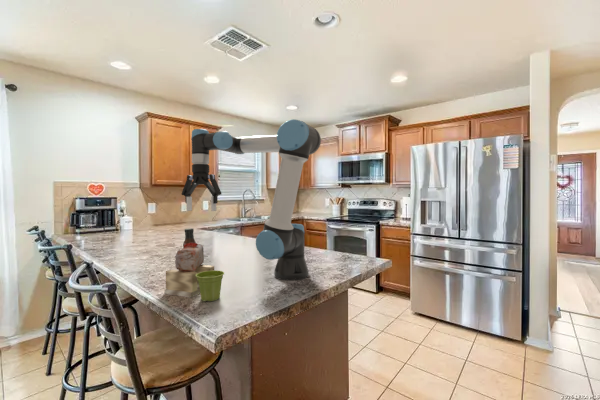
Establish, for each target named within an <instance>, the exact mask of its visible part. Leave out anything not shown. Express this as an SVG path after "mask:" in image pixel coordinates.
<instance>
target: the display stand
mask: <svg viewBox="0 0 600 400" xmlns="http://www.w3.org/2000/svg"><path fill="white" fill-rule="evenodd" d="M214 270H215V265H208V264H201V265H200V266H199V267H198V268H197V269H196V270H195V271H192V272H183V271H179V270H178V269H168V270H166V271H165V289H163V290H164V295H171V296H173V295H174V296H179V297H186V298H193V297H195V296H197V295H199V294H200V288H199V282H198V280H197V277H196V274H198V273H200V272H204V271H214Z"/></svg>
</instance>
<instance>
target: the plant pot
mask: <svg viewBox="0 0 600 400" xmlns="http://www.w3.org/2000/svg"><path fill="white" fill-rule="evenodd" d="M224 275H225V271H222V270H215V269H214V271H204V272H200V273H198V274H196V277H197V280H198V282H199V288H200V293H199V294H200V298H201V301H202V302H206V301H208V302H213V301H217V300H218V299H220V298H221V290H222V281H223V278H224Z"/></svg>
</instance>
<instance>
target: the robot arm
mask: <svg viewBox="0 0 600 400" xmlns="http://www.w3.org/2000/svg"><path fill="white" fill-rule="evenodd" d="M190 139H191V163H192V165H191V173H192V175H190V174H187V175H186V181H185V183H184V186H183V189H182V191H181V195H182V196H184V198H185V199H184V200H185V204H186V212H192V211H193V197H192V194H193V192H194V191H195V190H196V189H197V187H198V186H202V185H204V186H205V187H206V189H207V190H208V192H209V193H210V194H211V196H210V210H211V212H216V211H217V204H218V201H219V200H218V196H220V195H222V191H221V190H220V186H219V185H218V181H217V179H216V174H212V173H211V174H210V151H222V152H228V153H233V154H236V155H244V154H250V153H251V154H254V153H259V154H260V153H261V154H262V153H264V154H265V153H278V155H279V157H280V158H281V159H280V160H281V161H280V164H279V165H280V166H279V170H278V174H277V181H276V185H275V190H274V195H273V200H272V204H271V210H270V213H269V214H270V215H269V219H267V220H265V221H264V225H263V229H262V231H260V232H259V233H258V234H257V235H256V238H255V247H256V250H257V251H258V254H259V255H260V256H261V257H262V258H264V259H266V260H270V261H273V260H277V262H276V264H275V267H274V271H273V272H274V274H273V276H274V278H276V279H278V280H283V281H296V280H303V279H306V278H308V277H309V274H310V273H309V272H310V271H309V268H308V265H307V260H306V259H305V226H304V225H303V224H301V223H292V219H293V214H294V210H295V205H296V200H297V195H298V191H299V186H300V182H301V181H300V180H301V175H302V171H303V166H304V164H305V163H306V162H308V161H309V158H310V157H309V156H310V155H314V154H315V153H316V152H317V151H318V150H319V148H320V147H321V142H322V137H321V134H320V132H319V131H318V130H317V129H316V128H315V127H313V126H312V125H309V124H307V123H306V122H304V121H302V120H299V119H293V118H291V119H289V120H287V121H285V122H283V123H282V124H280V126H279V128H278V129H277V132H276V134H274V135H273V134H272V135H252V136H239V137H238V136H233V135H232V134H231V133H230V132H228V131H216V132H209V130H208V129H203V128H195V129H193V130H192V131H191V138H190Z"/></svg>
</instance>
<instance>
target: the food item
mask: <svg viewBox="0 0 600 400" xmlns="http://www.w3.org/2000/svg"><path fill="white" fill-rule="evenodd" d="M183 244H184V248H183V247H182V248H181V249H178V250H177V252H176V254H175V255H174V258H175V261H174V262H175V263H174V265H175V266H174V267H175V269H176V270H179V271H183V272H192V271H195V270H196V269H197V268H198V267H199V266H200V265H203V263H204V260H205V254H204V245H202V244H200V243H197V242H196V243H193V242H191V243H186V244H185V243H184V242H183ZM183 244H182V245H183Z"/></svg>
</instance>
